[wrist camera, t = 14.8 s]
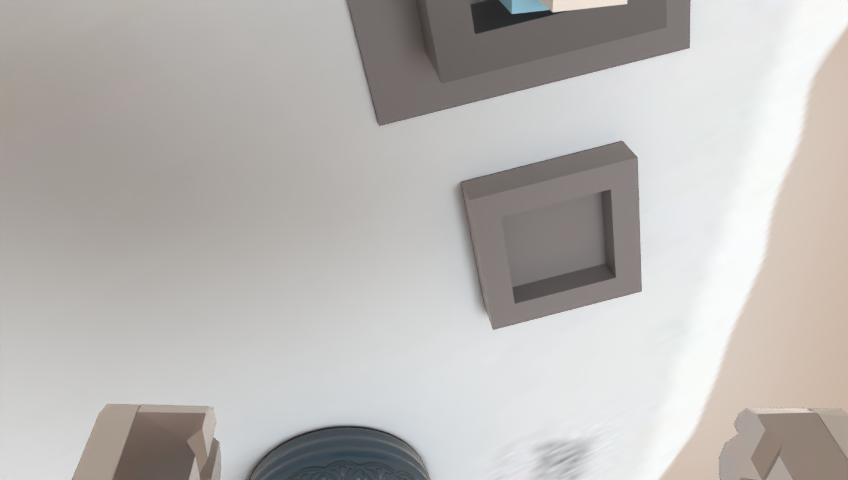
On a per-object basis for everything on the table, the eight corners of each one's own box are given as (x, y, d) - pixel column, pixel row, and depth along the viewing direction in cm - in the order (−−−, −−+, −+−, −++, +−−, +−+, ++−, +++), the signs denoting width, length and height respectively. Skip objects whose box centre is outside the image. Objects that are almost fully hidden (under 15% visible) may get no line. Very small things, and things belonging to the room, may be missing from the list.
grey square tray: (485, 308, 44) (493, 329, 42) (461, 182, 39) (468, 200, 37) (628, 271, 44) (641, 291, 42) (622, 141, 39) (637, 157, 37)
